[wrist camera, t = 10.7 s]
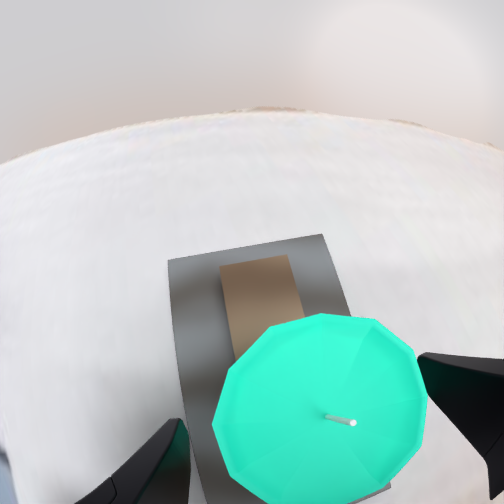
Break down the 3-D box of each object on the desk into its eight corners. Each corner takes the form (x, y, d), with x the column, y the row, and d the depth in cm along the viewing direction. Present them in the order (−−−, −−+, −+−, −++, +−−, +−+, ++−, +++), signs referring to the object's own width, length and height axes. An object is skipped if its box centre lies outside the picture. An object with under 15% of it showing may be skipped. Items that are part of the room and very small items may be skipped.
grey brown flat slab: (389, 486, 13) (408, 496, 10) (217, 530, 12) (211, 549, 9) (321, 235, 25) (329, 213, 22) (168, 261, 23) (157, 242, 21)
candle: (347, 381, 15) (481, 341, 5) (304, 461, 13) (389, 549, 2) (265, 343, 17) (287, 245, 6) (218, 422, 14) (149, 472, 4)
